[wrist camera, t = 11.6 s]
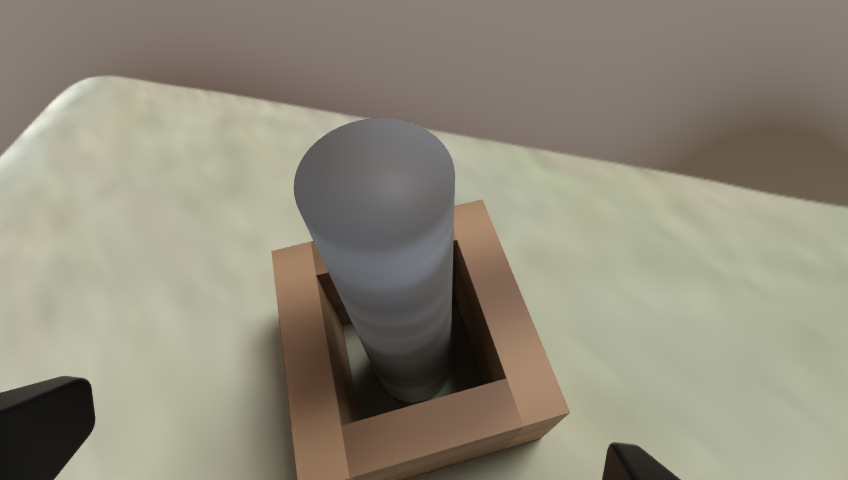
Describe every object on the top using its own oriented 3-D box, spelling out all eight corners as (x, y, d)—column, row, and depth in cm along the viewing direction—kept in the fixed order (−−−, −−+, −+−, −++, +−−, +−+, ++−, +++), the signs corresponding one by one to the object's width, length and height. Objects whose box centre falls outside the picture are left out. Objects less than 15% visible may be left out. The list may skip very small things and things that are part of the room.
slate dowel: (427, 417, 19) (401, 274, 8) (362, 378, 20) (260, 202, 9) (463, 350, 21) (482, 151, 10) (401, 317, 22) (353, 99, 11)
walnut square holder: (541, 437, 19) (569, 412, 14) (334, 500, 18) (299, 493, 14) (475, 259, 23) (482, 199, 19) (305, 303, 22) (271, 251, 18)
